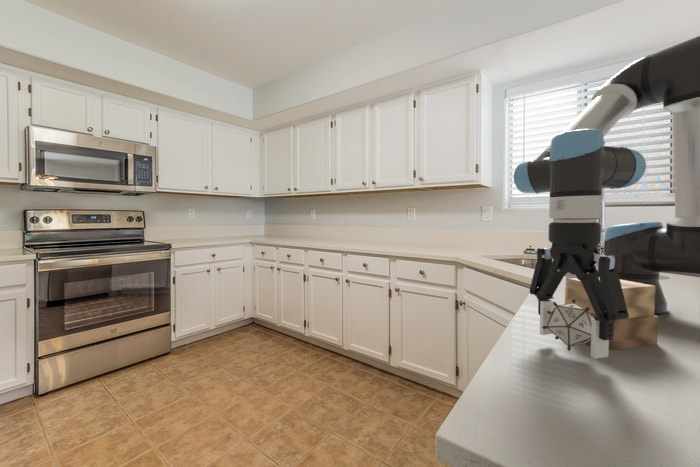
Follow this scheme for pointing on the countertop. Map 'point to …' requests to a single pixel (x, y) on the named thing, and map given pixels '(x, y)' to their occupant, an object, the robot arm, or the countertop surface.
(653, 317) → the bottom block
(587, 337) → the game die
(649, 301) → the top block
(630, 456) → the countertop surface
